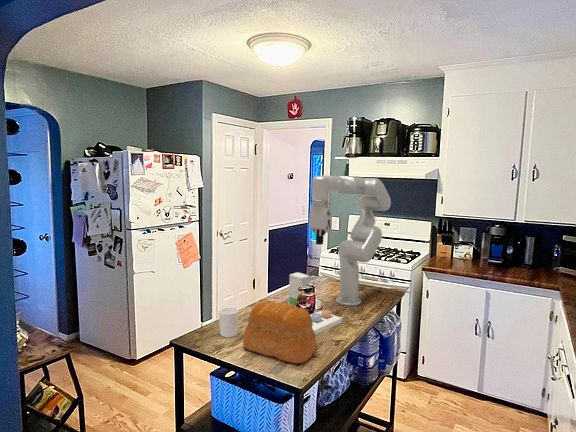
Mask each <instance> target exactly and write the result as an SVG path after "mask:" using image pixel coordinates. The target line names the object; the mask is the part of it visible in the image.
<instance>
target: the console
mask: <svg viewBox="0 0 576 432" xmlns="http://www.w3.org/2000/svg"><path fill="white" fill-rule="evenodd" d="M315 313H317V314H321V322H319V323H315V322H312V328H313V331H314V333H315V336H316V335H318V334H321V333H322V332H325V331H327V330H329V329H331V328H333V327H335V326H338V325H340V324H343V317H340V316H337V315H334V314H332V313H331V318H329V319H325V318H322V310H319V311H316V312H314V313H310V316H311V318H312V314H315Z"/></svg>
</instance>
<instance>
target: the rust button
mask: <svg viewBox="0 0 576 432" xmlns="http://www.w3.org/2000/svg"><path fill="white" fill-rule="evenodd" d="M321 311H322V318H325V319H329V318H331V314H332V311H331V310H330V309H322V310H321Z"/></svg>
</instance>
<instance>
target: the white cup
mask: <svg viewBox="0 0 576 432" xmlns="http://www.w3.org/2000/svg"><path fill="white" fill-rule="evenodd" d="M218 323H219V330H220V331H219V332H220V333H219V334H220V336H221V337H223V338H233V337H236V336H237V335H238V328H239V327H238V326H239V309H238V308H237V307H232V306H226V307H222V308H220V309H218Z"/></svg>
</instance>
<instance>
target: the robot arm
mask: <svg viewBox="0 0 576 432" xmlns="http://www.w3.org/2000/svg"><path fill="white" fill-rule="evenodd" d="M311 185H312V186H311V188H312V189H311V192H312V193H311V206H310V210H309V216H308V217H309V218H308V221H309V222H308V223H309V224H308V225H309V230H311V231H312V232H313V233H314V236H315V245H318V246H319V245H323V244H324V236H325V234H328V233H330V232H331V229H332V227H333V220H332V219H333V218H332V209H331V207H330V206H331V202H330V193H336V194H337V193H339V194H343V195H345V194H346V195H361V196H360V197H359V198H358V199H359V200H358V205H359V217H358V219H357V221H356V223H355V224H354V226H353V227H352V229H351V232H350V239H346V240H343V241H341V242H340V243H339V245H338V251H337V252H338V256H339V285H338V286H339V287H338V288H339V289H338V290H339V293H338V296H337V297H336V298H335V302H336V303H337V304H339V305H342V306H348V307H350V306H351V307H354V306H358V305H360V304H361V303H362V299H361V298H360V296H362V295H363V294H364V293H363V291H361V290H360V291H359V282H360V281H359V278H360V276H359V275H360V266H359V264H358V263H359V262H360V263H368V262H370V261H371V260H372V258H373V257H374V255H375V253H376V251H377V250H378V247H379V246H380V244H381V241H382V238H383V232H382V230H381V228H380V227H378V226H375V224H376V218H375V215H374V213H373V211H379V212H380V211H381V212H385V211H388V210H389V209H390V208H391V204H392V201H391V197H390V195H389V193H388V191H387V189H386V187H385V184H384V183H383V182H382V181H381V179H379V178H377V177H375V178H373V177H358V176H357V177H356V176H348V175H347V176H346V175H345V176H340V175H318V176H314V177H313V178H312V181H311Z"/></svg>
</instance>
